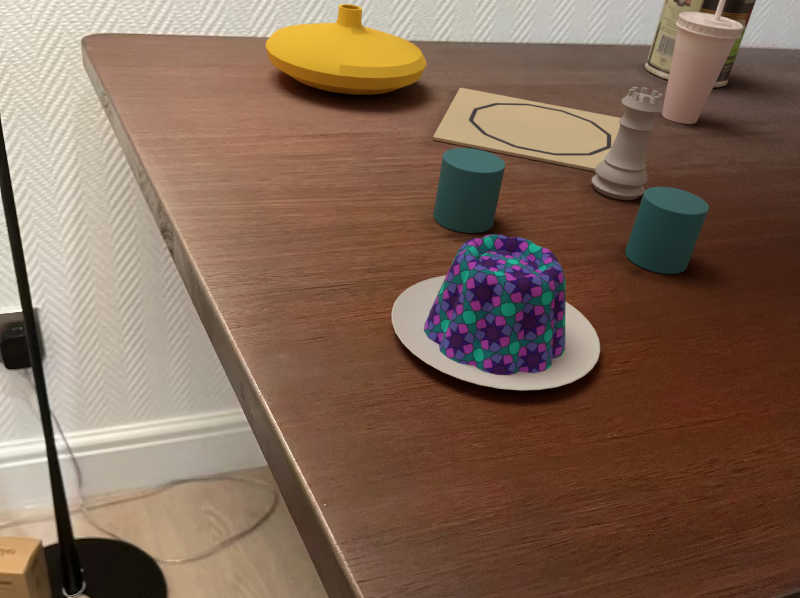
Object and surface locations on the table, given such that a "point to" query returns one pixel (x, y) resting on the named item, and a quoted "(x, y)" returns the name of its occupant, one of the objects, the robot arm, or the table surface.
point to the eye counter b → (666, 230)
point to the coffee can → (663, 43)
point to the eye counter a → (468, 190)
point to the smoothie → (697, 62)
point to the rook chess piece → (629, 148)
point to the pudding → (498, 318)
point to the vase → (345, 55)
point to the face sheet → (528, 129)
